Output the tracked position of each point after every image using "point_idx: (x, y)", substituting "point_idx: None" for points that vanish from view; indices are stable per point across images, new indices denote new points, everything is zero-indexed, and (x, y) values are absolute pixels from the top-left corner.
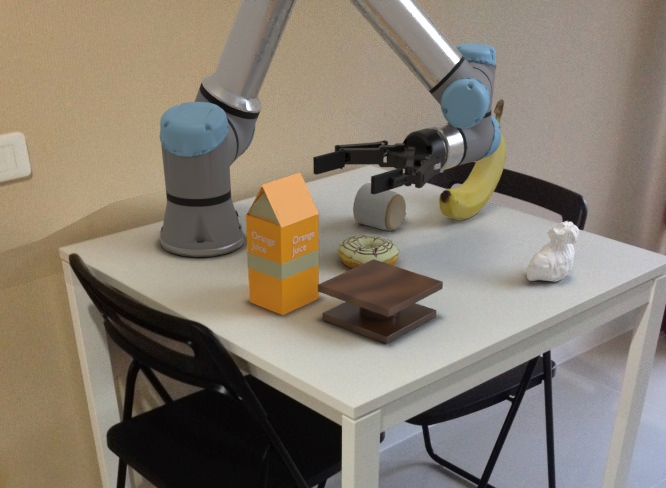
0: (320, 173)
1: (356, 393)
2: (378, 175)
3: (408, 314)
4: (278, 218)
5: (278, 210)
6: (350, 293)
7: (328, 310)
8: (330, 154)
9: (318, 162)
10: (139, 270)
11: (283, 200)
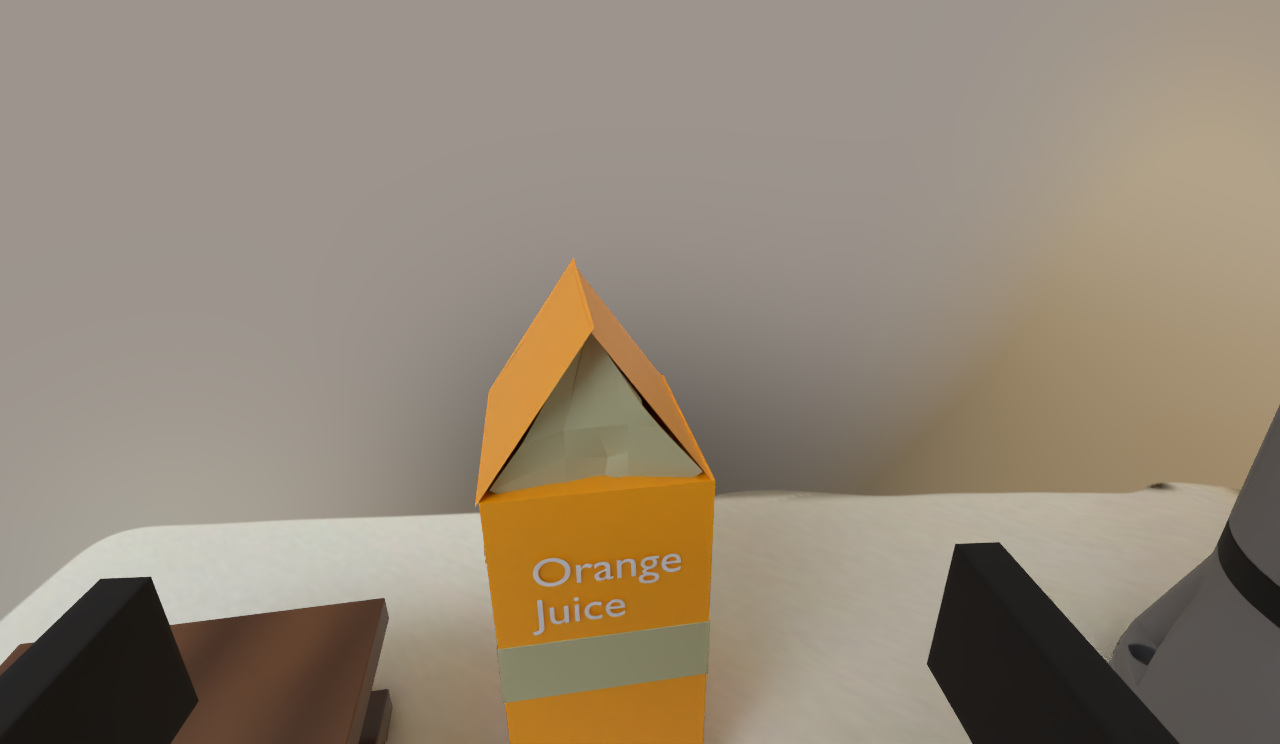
0: (953, 706)
1: (115, 551)
2: (59, 634)
3: None
4: (505, 366)
5: (518, 351)
6: (228, 630)
7: (380, 714)
8: (1091, 714)
9: (959, 600)
10: (1013, 534)
11: (533, 344)
